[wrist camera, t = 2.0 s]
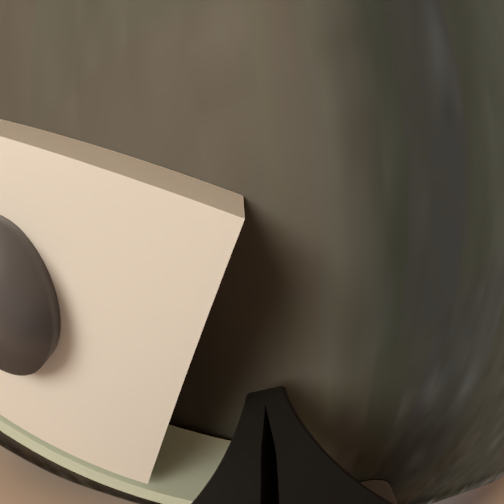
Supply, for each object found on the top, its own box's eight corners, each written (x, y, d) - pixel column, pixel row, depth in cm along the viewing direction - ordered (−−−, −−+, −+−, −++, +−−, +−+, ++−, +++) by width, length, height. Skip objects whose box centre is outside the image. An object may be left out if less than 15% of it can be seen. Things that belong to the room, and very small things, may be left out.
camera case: (-24, 320, 11) (-77, 364, 6) (-8, 116, 8) (-89, 114, 4) (164, 413, 12) (145, 496, 8) (243, 195, 10) (245, 225, 5)
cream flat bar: (-36, 333, 11) (-75, 368, 7) (-38, 319, 10) (-80, 353, 7) (257, 458, 13) (262, 520, 9) (265, 447, 13) (271, 512, 9)
